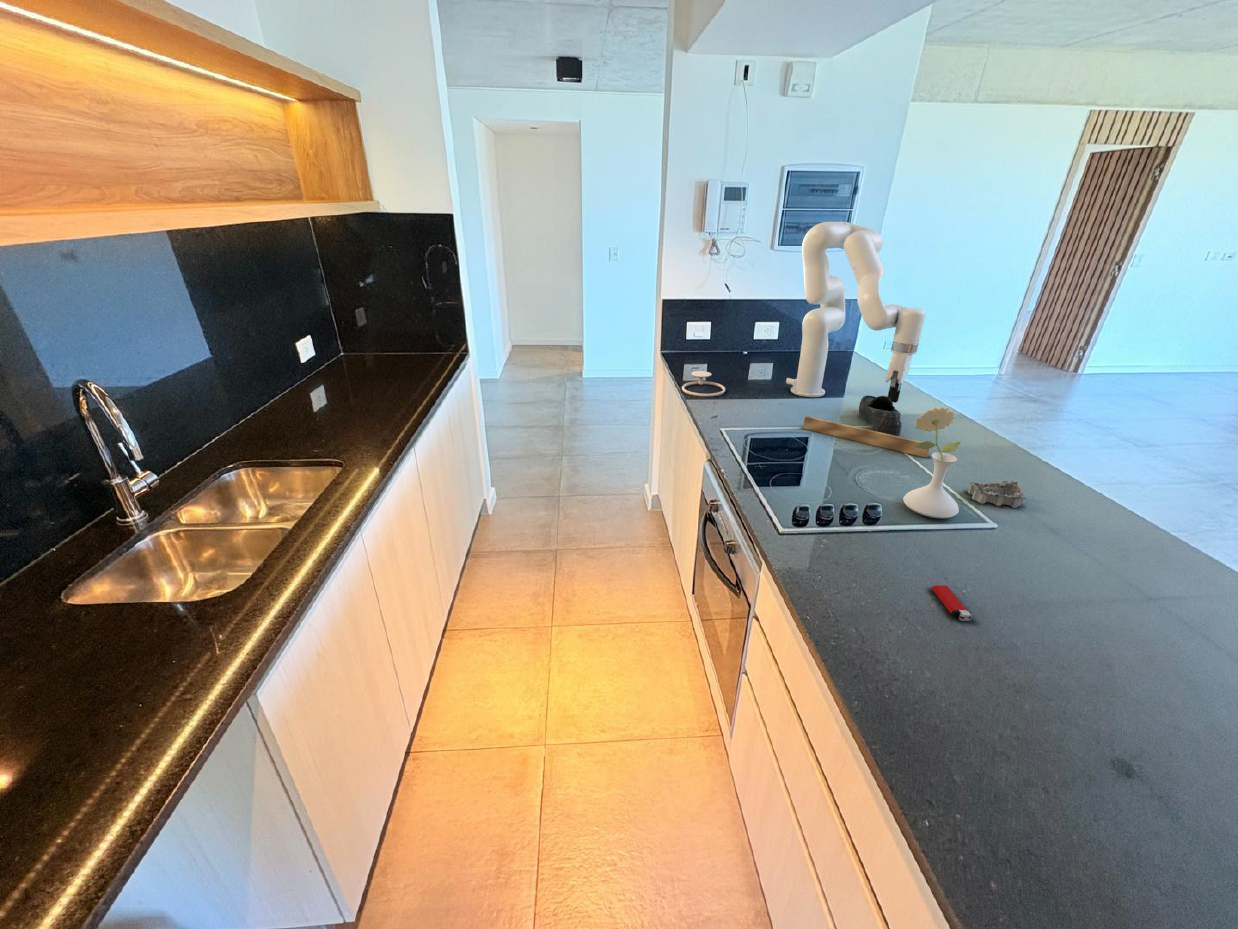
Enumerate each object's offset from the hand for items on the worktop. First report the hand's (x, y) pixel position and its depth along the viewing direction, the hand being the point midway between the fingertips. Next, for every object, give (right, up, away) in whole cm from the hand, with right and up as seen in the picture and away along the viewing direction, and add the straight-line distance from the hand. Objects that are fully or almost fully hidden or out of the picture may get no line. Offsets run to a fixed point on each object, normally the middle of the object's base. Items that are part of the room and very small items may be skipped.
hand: (892, 401), depth 179 cm
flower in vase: (-21, -32, -56) cm, 68 cm away
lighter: (-34, -47, -86) cm, 104 cm away
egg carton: (-2, -30, -51) cm, 60 cm away
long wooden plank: (-19, -15, -19) cm, 31 cm away
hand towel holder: (-60, +8, +29) cm, 67 cm away
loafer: (-8, -9, -6) cm, 14 cm away
